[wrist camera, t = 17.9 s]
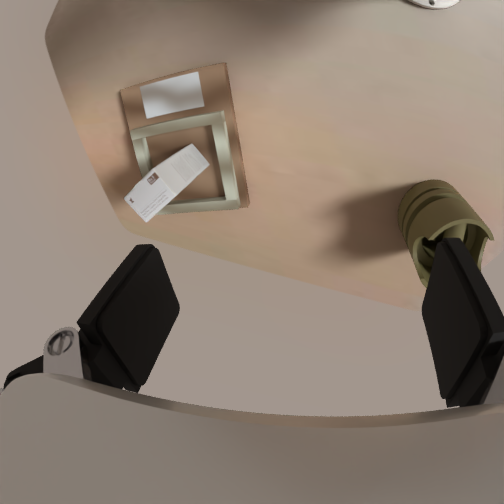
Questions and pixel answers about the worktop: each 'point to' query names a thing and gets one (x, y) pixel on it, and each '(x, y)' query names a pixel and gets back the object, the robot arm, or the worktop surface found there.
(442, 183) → the piston
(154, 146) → the framed base plate
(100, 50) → the worktop surface
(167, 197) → the skincare box
